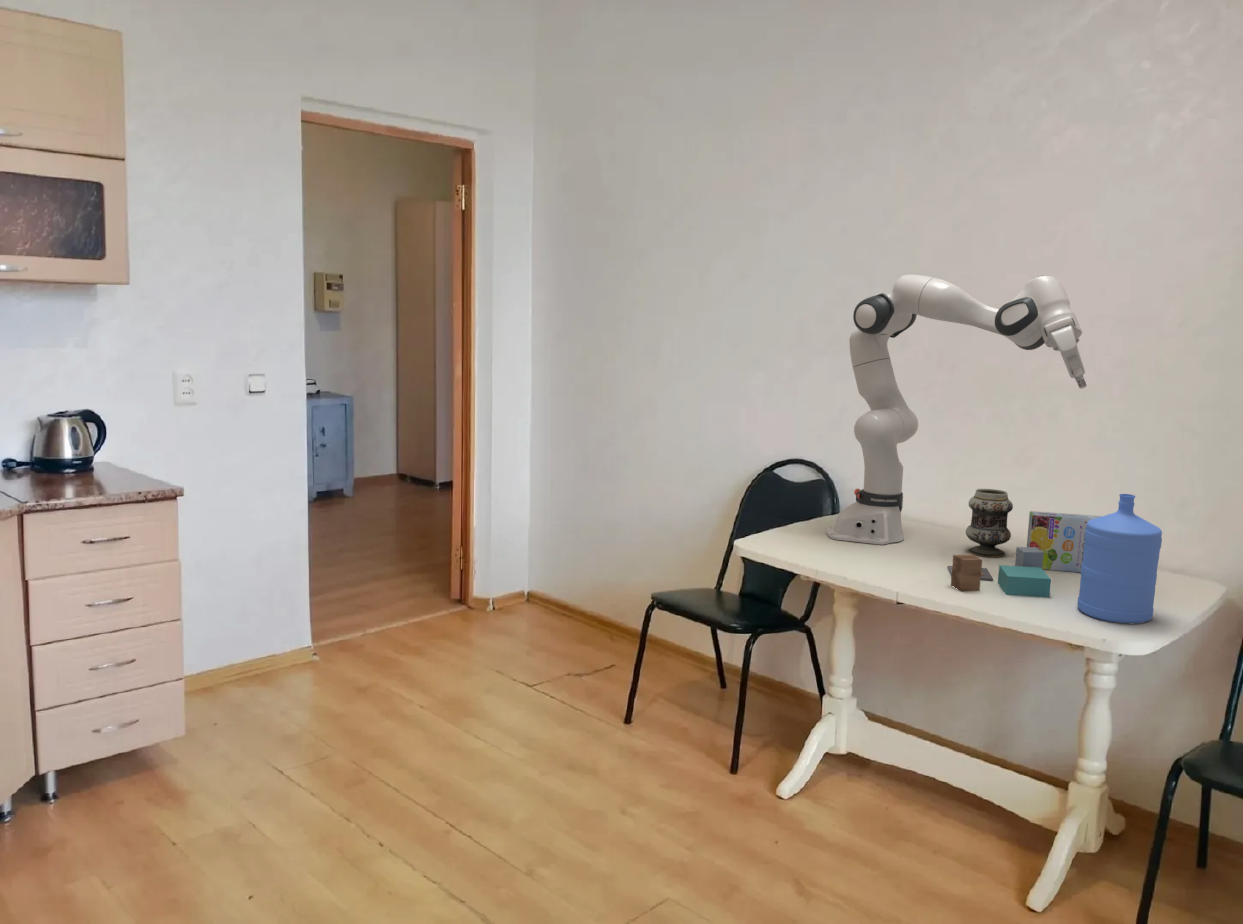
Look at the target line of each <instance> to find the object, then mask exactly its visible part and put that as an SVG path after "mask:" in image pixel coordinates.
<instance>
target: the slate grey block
mask: <svg viewBox="0 0 1243 924" xmlns="http://www.w3.org/2000/svg"><path fill="white" fill-rule="evenodd" d="M1043 555H1044V552H1042V551H1041V550H1039V549H1038V548H1036V547H1027V546H1015V559H1014V566H1022V567H1037V568H1042V565H1043Z"/></svg>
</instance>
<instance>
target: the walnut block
mask: <svg viewBox="0 0 1243 924" xmlns="http://www.w3.org/2000/svg"><path fill="white" fill-rule="evenodd" d="M982 565H983V559H982V558H980V557H979V556H977V555H974V554H971V553H970V554H969V553H968V554H965V553H964V554H952V565H951V566H952V576H951V575H950V576H951V579H950V586H951V587H952V586H954V587H955V589H956V588H957V589H958V591H959V592H980V589H981V581H982V580H981V568H983V566H982ZM954 587H953V588H954ZM957 589H956V590H957Z"/></svg>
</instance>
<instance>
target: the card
mask: <svg viewBox="0 0 1243 924" xmlns="http://www.w3.org/2000/svg"><path fill="white" fill-rule="evenodd" d="M947 570H948V571H949V574H950V576H952V565H947ZM980 581H985V582H994V577H993V576H992V574H991V573H990V571H989V569H988V568H986V567H982V568H981V580H980Z"/></svg>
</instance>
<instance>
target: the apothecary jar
mask: <svg viewBox="0 0 1243 924" xmlns="http://www.w3.org/2000/svg"><path fill="white" fill-rule="evenodd" d="M1008 493H1009V492H1007V491H1005V490H1001V489H995V488H994V489H993V488H977V489H975V493H974V495H973V496H972V497H971V498H970V499H968V507H969V508H970V509H971V510H972V511H971V521H970V525H968V526H967V527H966V529H965V535H966V537H967V538H968V539H969V540H970V541H972V542H974V543H976V544H977V545H975V546H971V547H969V548H968V550H967V551H968V554H969V553H970V554H972V555H974V556H977V557H985V558H986V557H987V558H1001V557H1005V555H1006V552H1005V551H1003V549H1000V548H998V547H996V546H998V545H1003V544H1005V543H1007V542H1009V541H1010V540H1011V537H1012V533H1011V530H1010V529H1009V528H1008V517H1009V513H1010V512H1012V510H1013V509H1014V504H1013V502H1012V500H1010V499H1009V495H1008Z"/></svg>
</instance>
